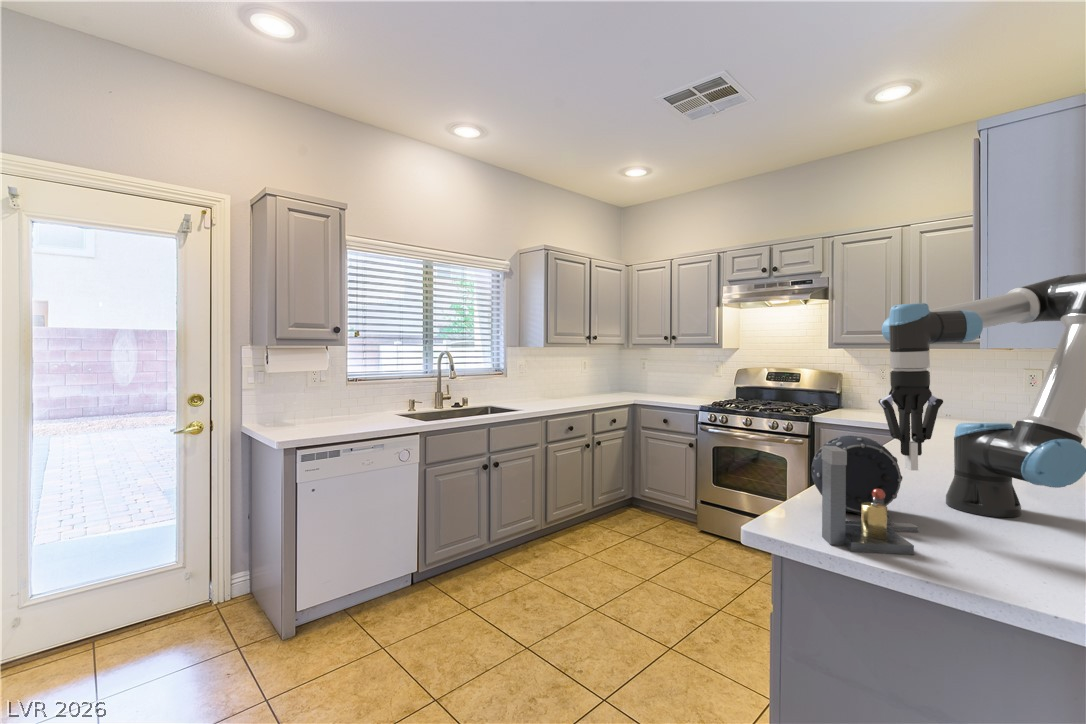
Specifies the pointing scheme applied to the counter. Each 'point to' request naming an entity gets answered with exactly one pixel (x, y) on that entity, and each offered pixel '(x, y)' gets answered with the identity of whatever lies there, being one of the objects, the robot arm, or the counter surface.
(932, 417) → the robot arm
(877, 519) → the cylinder
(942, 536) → the counter surface
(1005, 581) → the counter surface
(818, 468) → the dark studded drum
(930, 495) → the counter surface
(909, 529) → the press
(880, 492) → the lever
